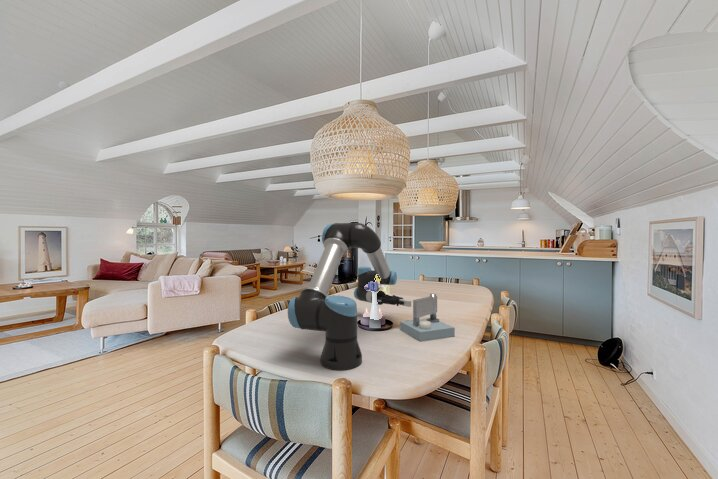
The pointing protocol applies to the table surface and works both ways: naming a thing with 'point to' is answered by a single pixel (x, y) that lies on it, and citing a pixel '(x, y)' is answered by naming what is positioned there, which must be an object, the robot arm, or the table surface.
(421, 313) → the grey upright panel
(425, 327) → the cover cap
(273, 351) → the table surface
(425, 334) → the blue-grey square base
